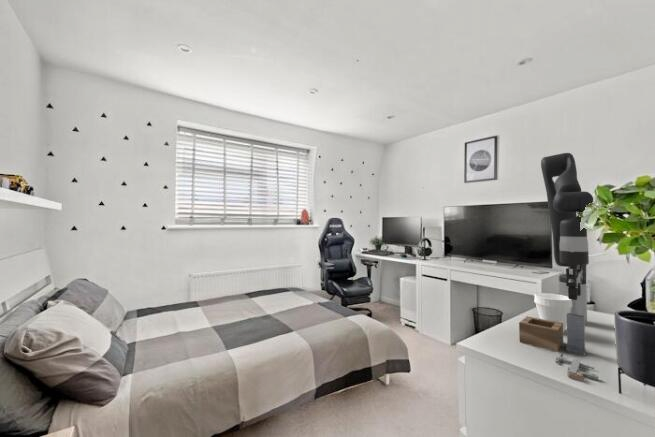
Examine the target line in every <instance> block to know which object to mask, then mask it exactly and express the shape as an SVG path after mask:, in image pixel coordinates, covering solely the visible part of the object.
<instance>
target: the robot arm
mask: <svg viewBox="0 0 655 437" xmlns="http://www.w3.org/2000/svg"><path fill="white" fill-rule="evenodd" d="M575 160H576V159H575V157H574V156H573V154H572V153H570V152H564V153H559V154H558V153H557V154H554V155H547V156H544V157H542V159H541V160H540V167H541V172H542V178H543V183H544V186H545V191H546V197H547V198H546V199H547V208H548V216H549V220H550V225H551V232H552V241H553V242H552V244H553V257H554V262H555V264H556V265H557V266H559V267H565V273H563V274H560V275H559V276H558V279H559V285H558V287H559V295H563V296H567V297H568V298H569V299H572V307H571V309H570V314H576V315H582V316H585V325H587V324H588V297H587V295H588V294H587V265H589V262H590V260H589V259H590V258H589V240H588V228H587V229H585V228H583V229H582V230H581V231H580V222H581V217H579V215H578V214H579V213H580V212H583V211H584V210H585V207H586V205H588V204H589V203H592V202H593V203H594V197H593V195H592V194H591V193H590V192H588V191H582V188H581V184H580V182H579V180H578V171H577V165H576V161H575ZM556 177H557V178H556ZM554 178H556V179H555V181H554ZM577 213H578V214H577Z"/></svg>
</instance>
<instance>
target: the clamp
mask: <svg viewBox="0 0 655 437" xmlns="http://www.w3.org/2000/svg"><path fill="white" fill-rule="evenodd" d="M558 355H559V356H558ZM558 355H557V356H555V363H556V364H560V363H562V362H565V363H567V364H570V366H569V367H568V368H567V369H568V370H567V378H568V379H572V380H575V381H578V382H581V383H583V382H584V377H587V378H588V379H592V380H595V381H599V375H598V374H596V373H595V374H594V373H592V372H585V371H582V370H580V369H581V367H582V368H587V369H591V370H595V366H591V365H588V364H584V363H581V361H582V360H579V359H575V358H573V359H572V360H569V359H565V358H563V357H564V354H563V353H562V352H559V354H558Z"/></svg>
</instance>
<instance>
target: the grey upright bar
mask: <svg viewBox="0 0 655 437" xmlns="http://www.w3.org/2000/svg"><path fill="white" fill-rule="evenodd" d="M566 339H567V340H566V341H567V344H566V345H567V346H566V349H565V350H566V352H567V353H571V354H575V355H579V356H585V355H586V351H587V350H586V324H585V316H582V315H576V314H570V313H567V324H566Z"/></svg>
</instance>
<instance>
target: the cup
mask: <svg viewBox="0 0 655 437" xmlns="http://www.w3.org/2000/svg"><path fill="white" fill-rule="evenodd" d="M533 296H534V300H533V302H534V303H535V305H536V309H537V313H538V316H539V319H543V320H549V321H554V322H559V323H563V334H564V333H565V330H566V328H567V313H570V309H571V307H572V299H569V298H568V297H567V296H563V295H560V294H557V293H556V294H555V293H549V292H547V293H546V292H539V293H534V294H533Z"/></svg>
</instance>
